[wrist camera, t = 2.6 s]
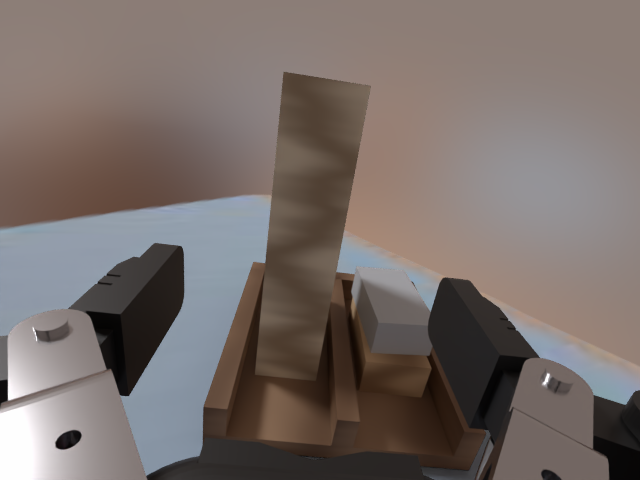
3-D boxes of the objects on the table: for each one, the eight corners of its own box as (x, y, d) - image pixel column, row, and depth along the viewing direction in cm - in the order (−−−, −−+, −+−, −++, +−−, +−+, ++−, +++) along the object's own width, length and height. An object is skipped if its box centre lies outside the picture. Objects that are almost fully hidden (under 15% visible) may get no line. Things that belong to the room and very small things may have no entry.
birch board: (254, 374, 23) (283, 71, 16) (267, 311, 30) (292, 74, 23) (315, 381, 24) (371, 85, 16) (315, 316, 30) (355, 84, 23)
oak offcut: (358, 391, 23) (366, 361, 22) (348, 317, 31) (353, 292, 30) (421, 397, 24) (431, 368, 23) (396, 322, 31) (403, 298, 30)
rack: (202, 446, 20) (203, 406, 18) (251, 289, 34) (253, 262, 33) (468, 470, 21) (486, 433, 19) (405, 308, 35) (412, 281, 34)
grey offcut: (370, 352, 23) (378, 322, 22) (351, 291, 30) (356, 266, 29) (429, 355, 24) (439, 326, 23) (397, 295, 30) (404, 270, 29)
